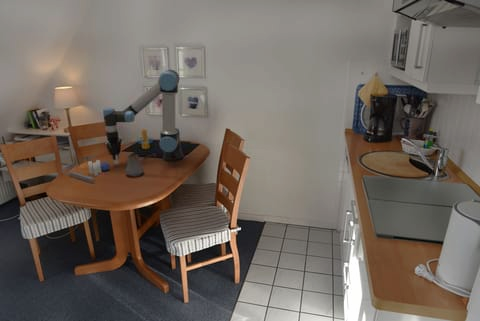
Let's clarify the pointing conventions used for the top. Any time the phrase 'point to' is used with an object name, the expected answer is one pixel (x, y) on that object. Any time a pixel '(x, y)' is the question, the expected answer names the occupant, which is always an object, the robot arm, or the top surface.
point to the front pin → (98, 166)
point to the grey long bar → (82, 177)
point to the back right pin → (90, 167)
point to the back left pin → (95, 169)
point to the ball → (104, 166)
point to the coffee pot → (135, 165)
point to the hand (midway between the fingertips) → (116, 163)
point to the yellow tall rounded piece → (145, 140)
